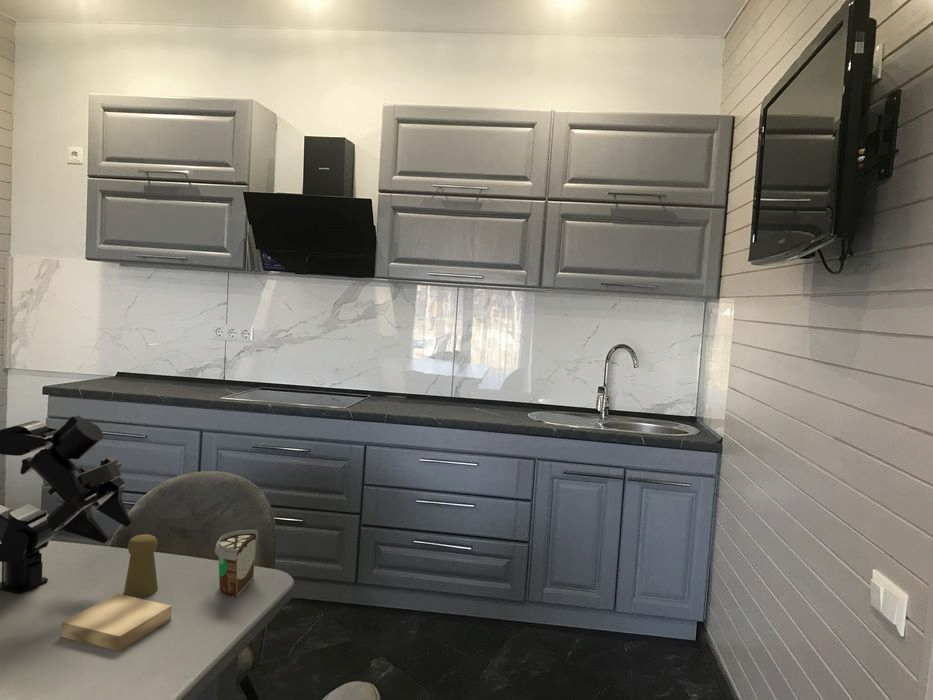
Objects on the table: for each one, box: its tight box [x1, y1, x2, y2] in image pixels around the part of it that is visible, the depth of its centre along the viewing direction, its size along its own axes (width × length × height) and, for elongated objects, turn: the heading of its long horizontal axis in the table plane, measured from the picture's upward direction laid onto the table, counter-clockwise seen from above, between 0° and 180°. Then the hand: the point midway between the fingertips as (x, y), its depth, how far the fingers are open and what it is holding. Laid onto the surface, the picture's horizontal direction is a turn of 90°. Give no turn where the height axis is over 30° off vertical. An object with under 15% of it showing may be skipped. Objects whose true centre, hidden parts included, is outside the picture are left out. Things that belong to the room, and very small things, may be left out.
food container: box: [214, 529, 259, 598], centre depth 133 cm, size 12×6×10 cm, turn 178°
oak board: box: [60, 593, 173, 652], centre depth 114 cm, size 12×12×2 cm
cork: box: [123, 533, 159, 599], centre depth 128 cm, size 6×6×11 cm
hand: (118, 533), depth 128 cm, fingers open, 9 cm apart
